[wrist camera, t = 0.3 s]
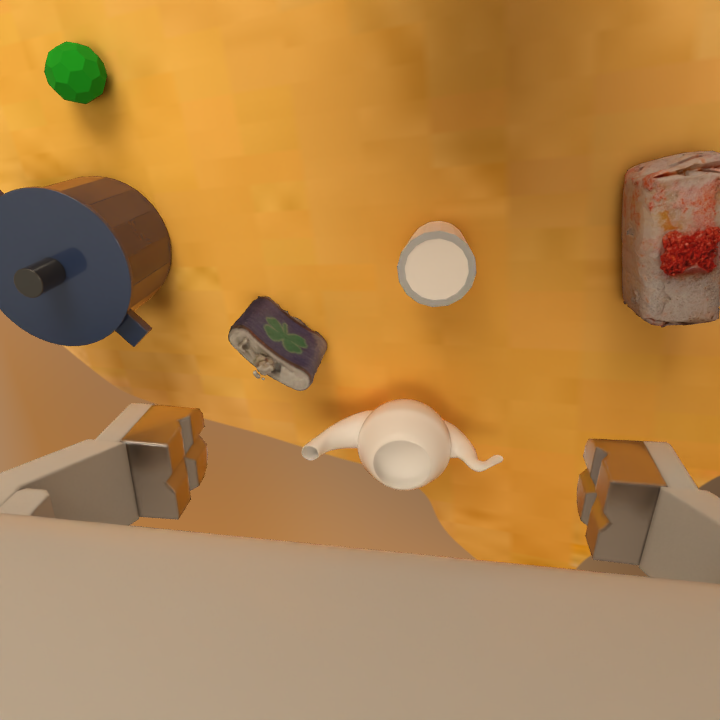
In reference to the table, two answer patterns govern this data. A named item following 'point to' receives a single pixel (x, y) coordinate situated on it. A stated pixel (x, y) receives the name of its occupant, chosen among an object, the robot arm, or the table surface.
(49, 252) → the pot lid
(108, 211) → the pot
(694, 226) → the food item
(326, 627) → the robot arm
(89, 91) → the polyhedron
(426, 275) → the tan cup
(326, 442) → the teapot
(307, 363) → the flask
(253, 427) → the table surface
